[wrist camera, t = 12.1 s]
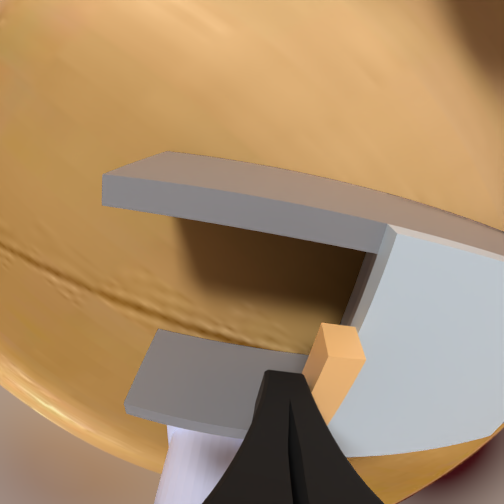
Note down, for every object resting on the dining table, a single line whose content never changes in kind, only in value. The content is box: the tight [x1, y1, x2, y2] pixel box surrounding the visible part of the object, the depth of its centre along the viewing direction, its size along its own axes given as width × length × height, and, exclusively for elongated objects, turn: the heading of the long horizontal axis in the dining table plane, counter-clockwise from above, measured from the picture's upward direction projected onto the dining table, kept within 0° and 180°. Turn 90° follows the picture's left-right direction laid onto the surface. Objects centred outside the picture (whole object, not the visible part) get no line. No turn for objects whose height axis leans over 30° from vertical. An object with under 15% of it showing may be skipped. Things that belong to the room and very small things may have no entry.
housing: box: [102, 151, 504, 439], centre depth 14 cm, size 12×26×6 cm, turn 80°
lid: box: [302, 224, 504, 457], centre depth 10 cm, size 12×16×2 cm
